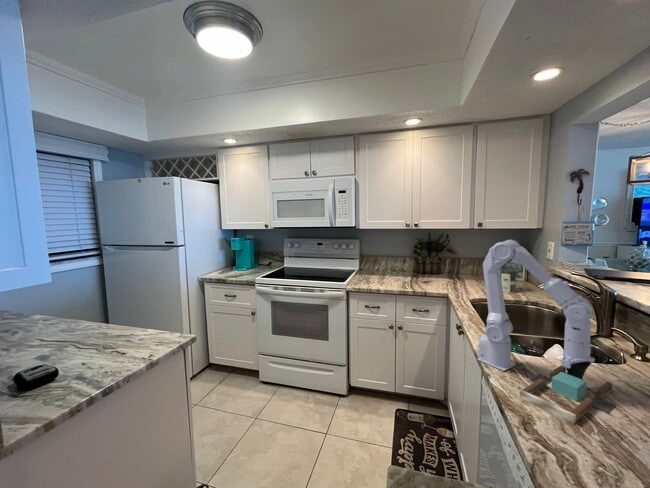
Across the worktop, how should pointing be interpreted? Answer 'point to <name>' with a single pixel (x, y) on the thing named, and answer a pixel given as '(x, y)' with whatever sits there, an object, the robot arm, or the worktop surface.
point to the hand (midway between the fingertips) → (575, 382)
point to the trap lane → (564, 414)
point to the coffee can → (508, 280)
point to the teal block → (569, 386)
